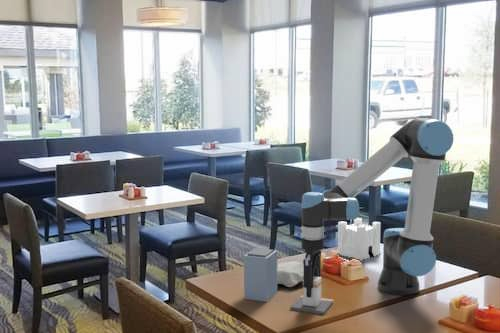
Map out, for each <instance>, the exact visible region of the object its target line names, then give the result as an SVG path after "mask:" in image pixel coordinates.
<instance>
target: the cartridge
mask: <svg viewBox="0 0 500 333" xmlns="http://www.w3.org/2000/svg"><path fill="white" fill-rule="evenodd" d="M322 282H323V281H322V276H321V277H317V276H314V279H313V287H314V306H315V307H317V306H318V305H319V304H320V303H321V298H322V284H323V283H322ZM303 285H304V279H303V281H302V288H303V289H302V291H303V292H302V296H303V305H306V288H305V287H303Z"/></svg>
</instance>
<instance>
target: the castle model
mask: <svg viewBox="0 0 500 333" xmlns="http://www.w3.org/2000/svg"><path fill="white" fill-rule="evenodd" d="M371 224H372V225H368V224H364V223H363V219H362V218H361V217H358V218H356V219H353V223H351V224H348V222H347V221H345V220H340V221H338V222H337V251H338V252H339V253H340V256H344V257H346V256H348V257H347V258H350V257H354V258H358V259H361V260H360V261H364V260H363V259H365V260H367V258H368V259H370V254H369V251H371V254H373V256H374V257H377V256H376V255H378V256H380V255H379V254H381V255H382V252H381V226H382V224H381V222H380V221H373V222H372V223H371Z"/></svg>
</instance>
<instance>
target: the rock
mask: <svg viewBox="0 0 500 333" xmlns="http://www.w3.org/2000/svg"><path fill="white" fill-rule="evenodd" d="M303 279H304V264H303V262H299V261H292V260H291V261H287V262H282V263H277V285H284V286H285V287H288V288H291V287H294V286H296V285H298V284H299V283H303Z"/></svg>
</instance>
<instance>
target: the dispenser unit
mask: <svg viewBox="0 0 500 333" xmlns="http://www.w3.org/2000/svg"><path fill="white" fill-rule="evenodd" d="M277 265H278V250H274V249H268V248H259V247H255V248H253V249H252V250H250V251H248V252H247V253H246V254H244V255H243V279H244V280H243V282H244V283H243V288H244V290H243V292H244V294H243V295H244V297H243V298H244V299H245V300H246V299H247V300H252V301H259V302H267V303H268V302H269V301H270V300H271V299H272V298H273V297H275V296H276V295H277V294H278V284H277Z"/></svg>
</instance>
